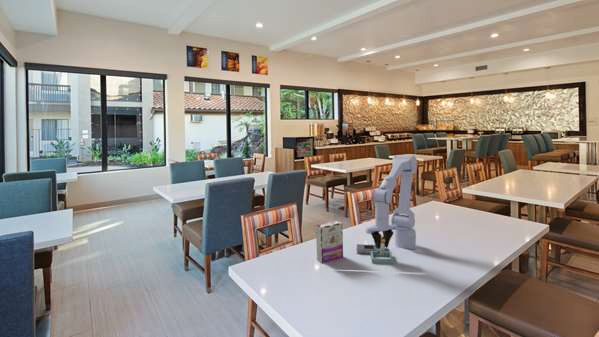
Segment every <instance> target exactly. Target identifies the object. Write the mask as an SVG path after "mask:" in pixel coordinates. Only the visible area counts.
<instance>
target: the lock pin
mask: <svg viewBox="0 0 599 337" xmlns="http://www.w3.org/2000/svg"><path fill="white" fill-rule="evenodd" d="M385 242H386V238H385V237H383V235H381V239H380V249H377V254H379V255H384V250H385V248H386V247H385Z"/></svg>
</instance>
